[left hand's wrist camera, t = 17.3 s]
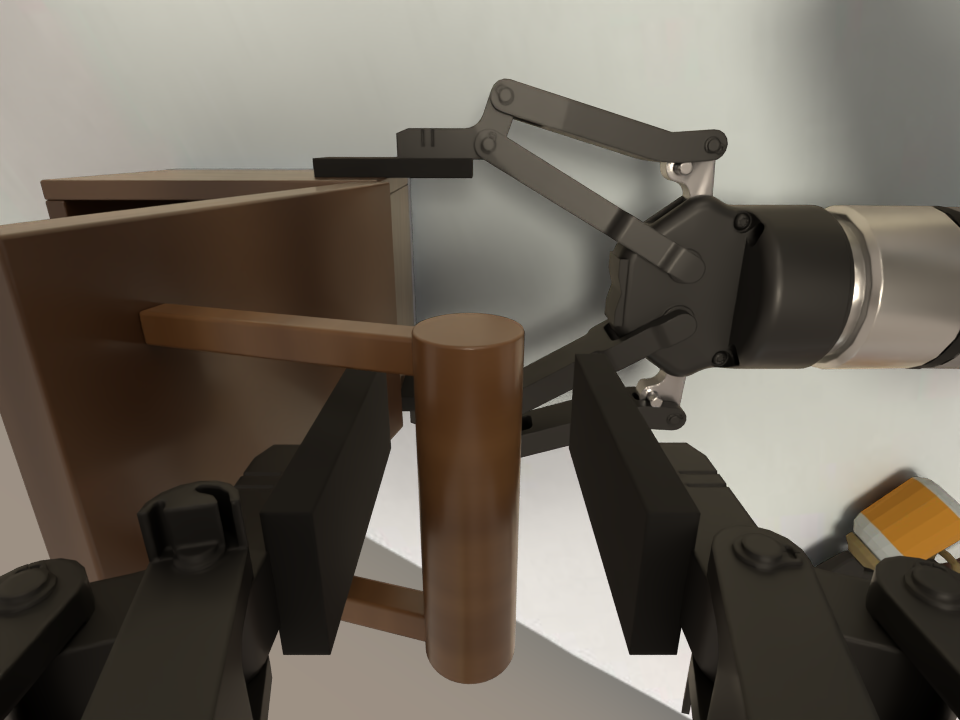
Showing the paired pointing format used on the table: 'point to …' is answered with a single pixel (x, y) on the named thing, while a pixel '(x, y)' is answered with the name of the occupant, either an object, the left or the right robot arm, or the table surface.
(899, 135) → the table surface
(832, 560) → the spray gun
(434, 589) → the lid
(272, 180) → the chest
